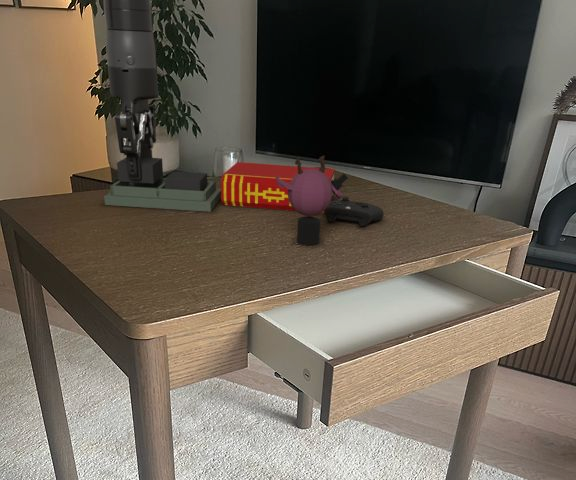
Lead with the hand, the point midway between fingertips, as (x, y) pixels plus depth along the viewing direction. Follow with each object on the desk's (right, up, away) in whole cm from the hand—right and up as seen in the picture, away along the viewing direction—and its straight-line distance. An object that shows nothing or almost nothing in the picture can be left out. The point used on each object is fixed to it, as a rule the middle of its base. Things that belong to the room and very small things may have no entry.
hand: (141, 174), depth 103 cm
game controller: (+36, -9, -4) cm, 37 cm away
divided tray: (+4, -4, +2) cm, 6 cm away
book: (+24, -3, +5) cm, 24 cm away
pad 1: (0, 0, 0) cm, 1 cm away
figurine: (+28, -15, -15) cm, 35 cm away
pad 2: (+8, -3, +1) cm, 8 cm away
